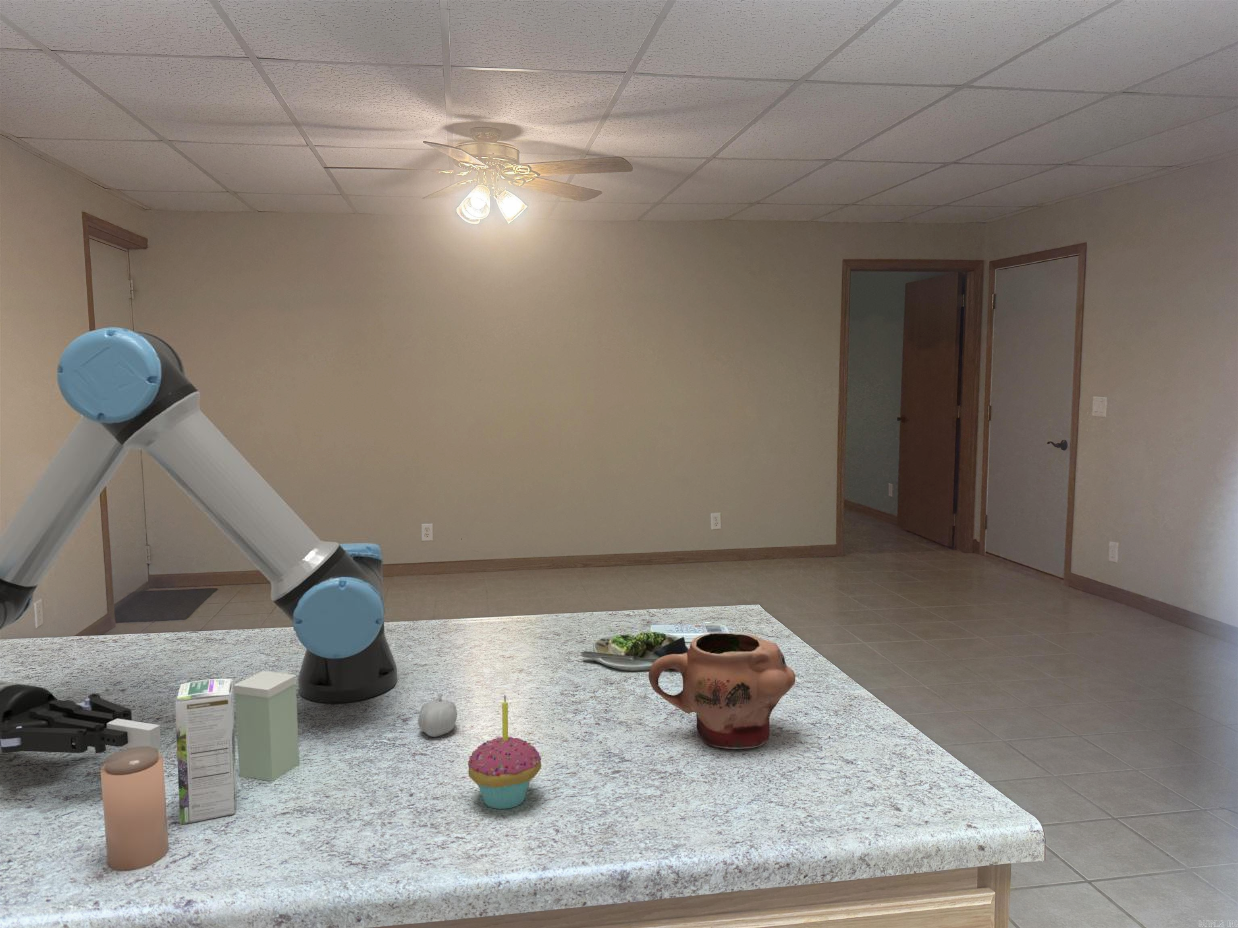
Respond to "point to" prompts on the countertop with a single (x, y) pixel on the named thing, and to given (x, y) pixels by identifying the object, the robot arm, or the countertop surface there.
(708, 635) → the brown clay mug
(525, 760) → the cupcake
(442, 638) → the countertop surface
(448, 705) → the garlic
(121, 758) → the canister
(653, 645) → the salad plate
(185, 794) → the syrup box
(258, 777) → the tea tin
